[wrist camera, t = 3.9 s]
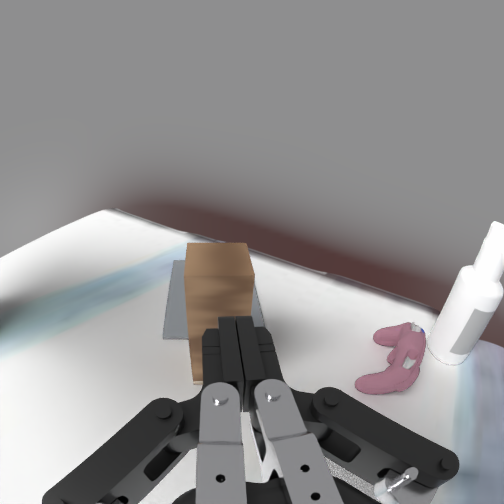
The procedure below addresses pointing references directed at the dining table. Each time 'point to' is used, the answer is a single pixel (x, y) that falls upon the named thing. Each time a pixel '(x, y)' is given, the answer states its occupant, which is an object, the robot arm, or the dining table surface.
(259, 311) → the rubber mat
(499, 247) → the spray bottle
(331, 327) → the dining table surface
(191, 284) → the walnut block
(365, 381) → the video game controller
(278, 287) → the dining table surface
